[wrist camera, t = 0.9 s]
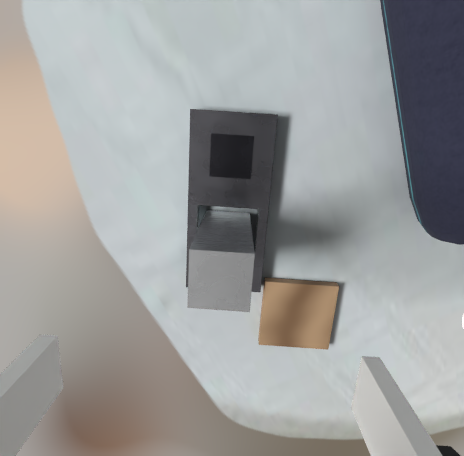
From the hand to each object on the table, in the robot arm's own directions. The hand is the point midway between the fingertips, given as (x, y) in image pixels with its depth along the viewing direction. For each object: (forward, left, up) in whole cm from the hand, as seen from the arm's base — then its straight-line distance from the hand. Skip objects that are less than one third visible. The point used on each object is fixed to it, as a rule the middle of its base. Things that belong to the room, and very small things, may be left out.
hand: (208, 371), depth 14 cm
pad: (-9, +9, -21) cm, 24 cm away
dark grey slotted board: (0, -3, -21) cm, 21 cm away
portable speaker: (-18, -15, -21) cm, 32 cm away
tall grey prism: (0, 0, -21) cm, 21 cm away
